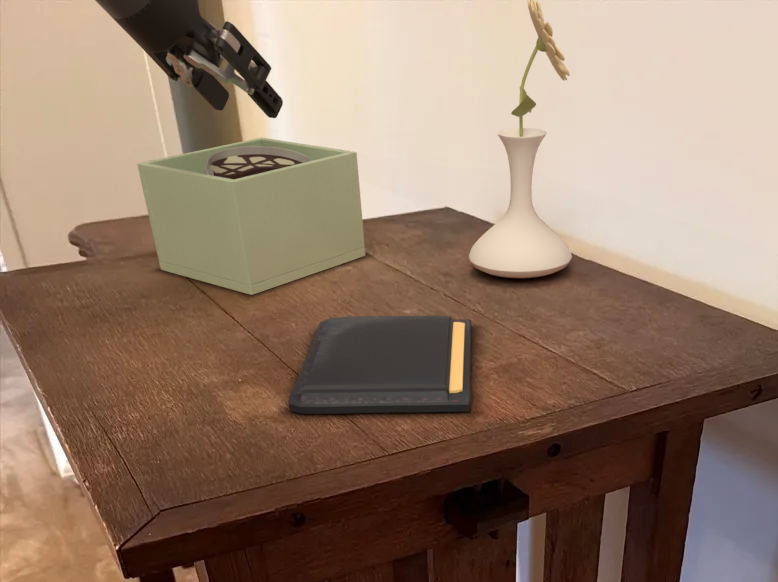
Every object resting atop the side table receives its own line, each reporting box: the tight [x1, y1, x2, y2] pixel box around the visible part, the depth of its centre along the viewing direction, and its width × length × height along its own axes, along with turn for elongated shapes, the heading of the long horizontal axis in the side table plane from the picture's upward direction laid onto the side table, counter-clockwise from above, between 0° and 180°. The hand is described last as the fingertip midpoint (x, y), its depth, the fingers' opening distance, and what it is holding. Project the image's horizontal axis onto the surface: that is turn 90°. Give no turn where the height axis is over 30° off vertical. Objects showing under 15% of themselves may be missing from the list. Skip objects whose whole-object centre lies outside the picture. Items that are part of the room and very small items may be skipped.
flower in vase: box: [468, 0, 573, 279], centre depth 95 cm, size 13×11×25 cm
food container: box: [205, 146, 309, 180], centre depth 102 cm, size 12×6×10 cm, turn 127°
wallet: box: [288, 315, 472, 415], centre depth 80 cm, size 20×2×15 cm
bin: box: [136, 137, 366, 296], centre depth 103 cm, size 16×18×11 cm
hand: (250, 106), depth 97 cm, fingers open, 8 cm apart
